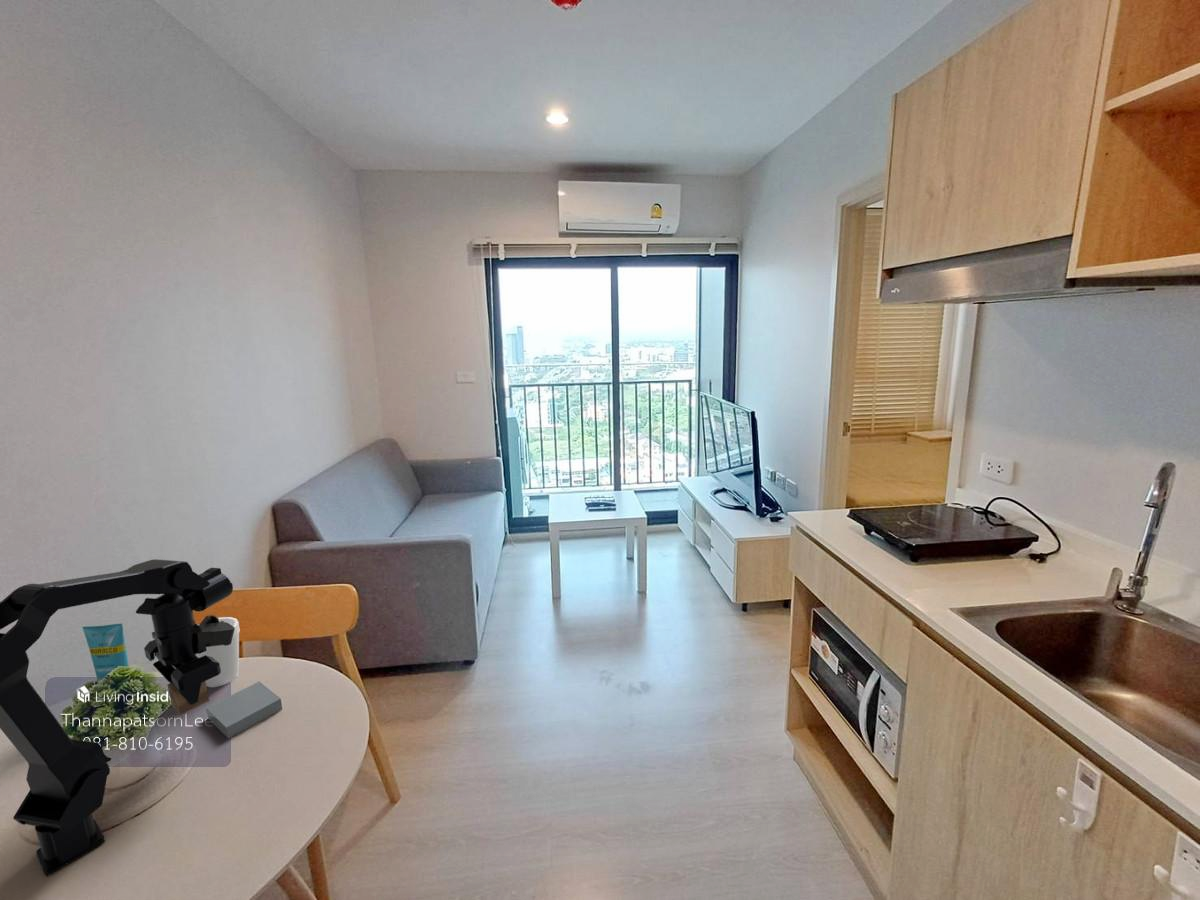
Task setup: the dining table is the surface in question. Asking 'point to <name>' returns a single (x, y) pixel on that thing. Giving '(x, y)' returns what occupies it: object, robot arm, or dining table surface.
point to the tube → (106, 648)
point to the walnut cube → (181, 703)
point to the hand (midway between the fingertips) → (189, 698)
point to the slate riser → (243, 709)
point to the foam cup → (225, 657)
